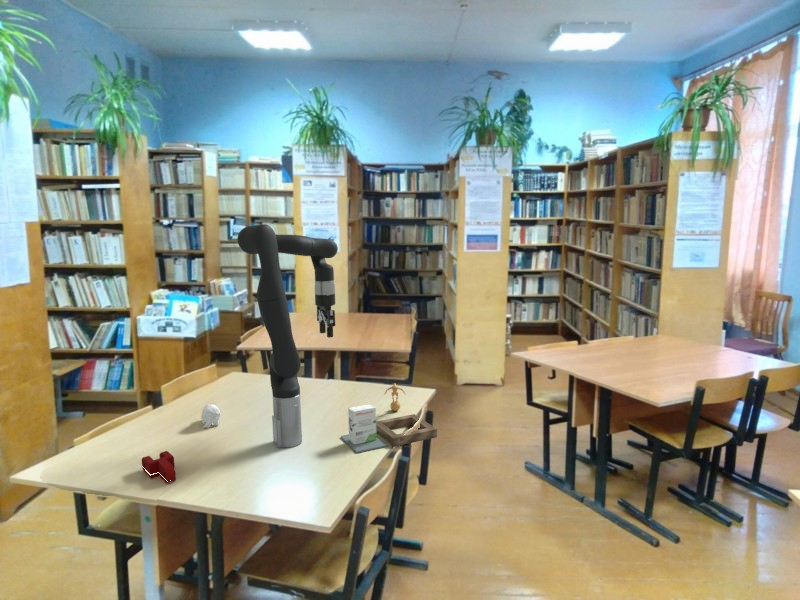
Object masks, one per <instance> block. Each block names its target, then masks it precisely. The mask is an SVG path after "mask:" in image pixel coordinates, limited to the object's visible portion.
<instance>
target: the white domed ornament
mask: <svg viewBox="0 0 800 600" xmlns="http://www.w3.org/2000/svg"><path fill="white" fill-rule="evenodd" d="M220 418H221V411H220V408H219V407H218V406H217V405H215V404H212V403H210V404H206V405H205V406H204V407H203V408H202V410H201V414H200V419H201V421H202V425H203V424H204V425H203V426H202V427H203V429H207V428H209V427H210V426H211V425H213V426H216V427H217V426H219V425H220V422H219V421H220Z"/></svg>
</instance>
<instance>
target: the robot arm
mask: <svg viewBox="0 0 800 600" xmlns="http://www.w3.org/2000/svg"><path fill="white" fill-rule="evenodd" d="M237 244H238V246H239V248H240V250H242V252H244V253H246V254H249V255H258V258H259V259H258V260H259V263H260V277H259V281H258V285H257V290H256V299H257V300H256V301H257V304H258V308H259V309H258V310H259V313H260V316H261V319H262V322H263V324H264V327H265V329H266V332H267V335H268V336H269V339H270V342H271V350H272V353H271V354H270V357H269V362H268V363H269V377H270V388H271V390H272V391H271V392H272V394H271V395H272V408H273V410H272V411H273V415H272V416H271V418H272V438H273V439H272V440H273V443H274V445H275V446H276V448H292V447H297V446H299V445H301V444H302V442H303V435H302V433H303V431H302V410H301V409H302V407H301V387H300V382H299V378H298V373H299V371H300V369H301V364H302V363H301V361H302V360H301V358H300V355H299V352H298V350H297V347H296V342H295V339H294V336H293V330H292V322H291V316H290V310H289V305H288V300H287V296H286V291H285V288H284V287H285V286H284V281H283V277H282V272H281V271H282V270H281V265H280V257H279V254H286V255H294V256H299V257H300V256H301V257H310V259H311V260H310V261H311V263H312V266H313V269H314V302H315V303H314V305H315V306H316V320H317V322H318V324H319V333H320V334H325V333H326V337H327V338H333V337H334V327H336V313H335V309H332V307H333V306H335V305H336V284H335V276H334V275H335V273H334V271H335V269H334V267H333V265H332V264H328V263H327V260H326V259H331V258H334V257H335V256H336V255H337V254H338V251H339V250H338V244H337V242H336V241H334V240H332V239H331V238H321V237H320V238H319V237H318V238H317V237H311V236H307V235H299V234H276V233H275V230H274V229H273V227H271V226H270V225H269V224H266V223H262V224H255V225H249V226H246V227H243V228H242V229H241V230H240V231H239V233H238V234H237Z"/></svg>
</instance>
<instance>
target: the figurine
mask: <svg viewBox="0 0 800 600" xmlns="http://www.w3.org/2000/svg"><path fill="white" fill-rule="evenodd" d="M390 390H392V392H391V396H392V397H391V399H392V402H391V403H390V410H391V411H394V412H397V411H399V410H400V409H401V404H400V402H399V401H398V399H399V391H401V392H403V394H404V395H406V393H405V391H404V389H403V388H401V387H399V386H397V384H396V382H394V383H393V385H392V386H390V387H388V388H387V389H386V390H385V391H384V394H387V392H388V391H390ZM398 390H399V391H398ZM394 396H396V399H395V397H394Z"/></svg>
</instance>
